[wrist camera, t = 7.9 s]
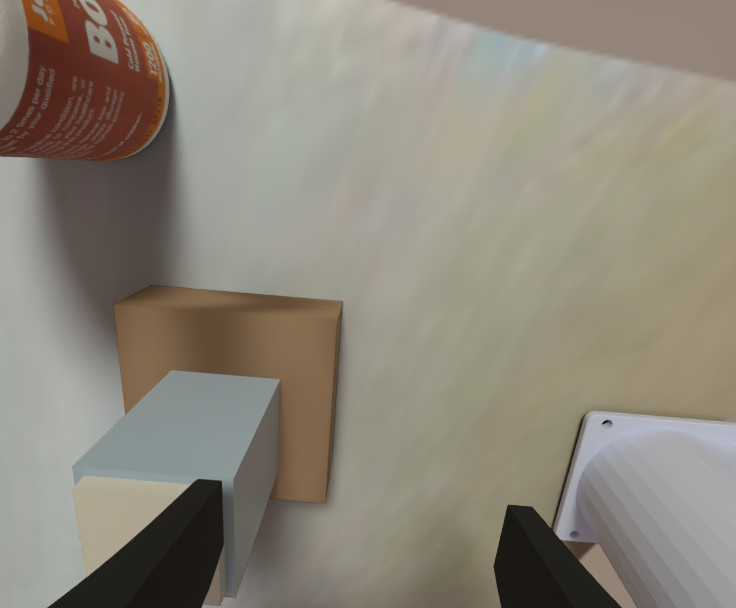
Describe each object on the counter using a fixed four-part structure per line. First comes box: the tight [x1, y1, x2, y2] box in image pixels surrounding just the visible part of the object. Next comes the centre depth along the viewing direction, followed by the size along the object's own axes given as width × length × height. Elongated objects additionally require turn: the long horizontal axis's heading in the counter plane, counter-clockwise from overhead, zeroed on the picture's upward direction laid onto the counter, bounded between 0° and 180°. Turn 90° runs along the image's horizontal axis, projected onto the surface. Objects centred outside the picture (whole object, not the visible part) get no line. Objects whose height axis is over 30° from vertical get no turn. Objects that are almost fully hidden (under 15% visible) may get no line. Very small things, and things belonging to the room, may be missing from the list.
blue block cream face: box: [72, 370, 280, 606], centre depth 15 cm, size 5×5×6 cm
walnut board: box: [113, 285, 343, 503], centre depth 20 cm, size 9×9×3 cm
